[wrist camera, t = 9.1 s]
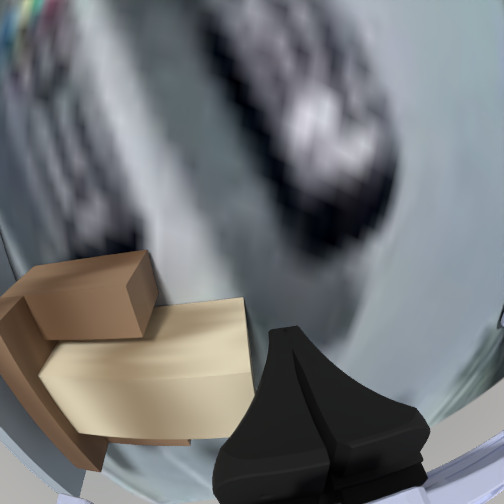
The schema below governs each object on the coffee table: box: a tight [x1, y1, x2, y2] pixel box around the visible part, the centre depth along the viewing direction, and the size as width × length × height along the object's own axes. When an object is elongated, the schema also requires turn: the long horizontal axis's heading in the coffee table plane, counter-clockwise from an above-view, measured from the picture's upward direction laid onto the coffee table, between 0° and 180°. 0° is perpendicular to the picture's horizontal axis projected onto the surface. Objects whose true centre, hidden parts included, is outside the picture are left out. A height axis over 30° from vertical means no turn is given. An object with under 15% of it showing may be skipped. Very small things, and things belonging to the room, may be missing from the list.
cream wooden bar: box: [38, 297, 256, 439], centre depth 11 cm, size 8×4×4 cm, turn 96°
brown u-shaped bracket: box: [0, 250, 191, 472], centre depth 11 cm, size 6×9×5 cm, turn 6°
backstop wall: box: [0, 235, 86, 497], centre depth 10 cm, size 2×16×6 cm, turn 6°
